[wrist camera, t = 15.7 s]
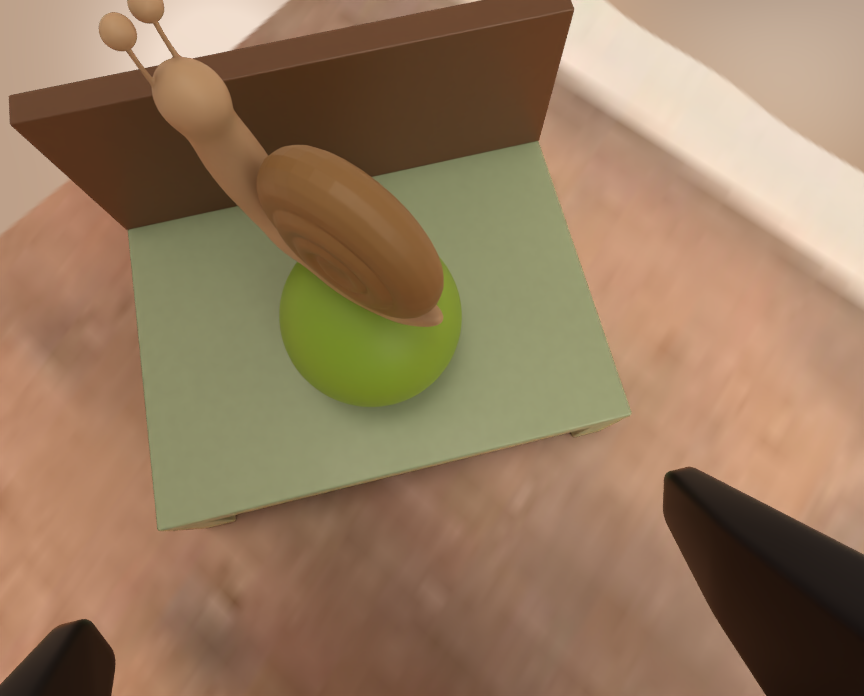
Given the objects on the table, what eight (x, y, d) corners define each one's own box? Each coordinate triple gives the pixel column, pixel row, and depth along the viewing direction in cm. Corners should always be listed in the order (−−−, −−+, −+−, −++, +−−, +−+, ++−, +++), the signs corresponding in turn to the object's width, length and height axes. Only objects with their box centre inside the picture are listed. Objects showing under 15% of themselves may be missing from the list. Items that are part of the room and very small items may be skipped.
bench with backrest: (600, 431, 23) (718, 372, 13) (206, 528, 22) (23, 541, 12) (518, 177, 26) (564, -18, 16) (172, 253, 25) (7, 94, 16)
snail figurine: (341, 231, 21) (220, -112, 9) (488, 321, 20) (556, 59, 8) (249, 348, 20) (-20, 119, 8) (401, 451, 19) (339, 355, 7)
